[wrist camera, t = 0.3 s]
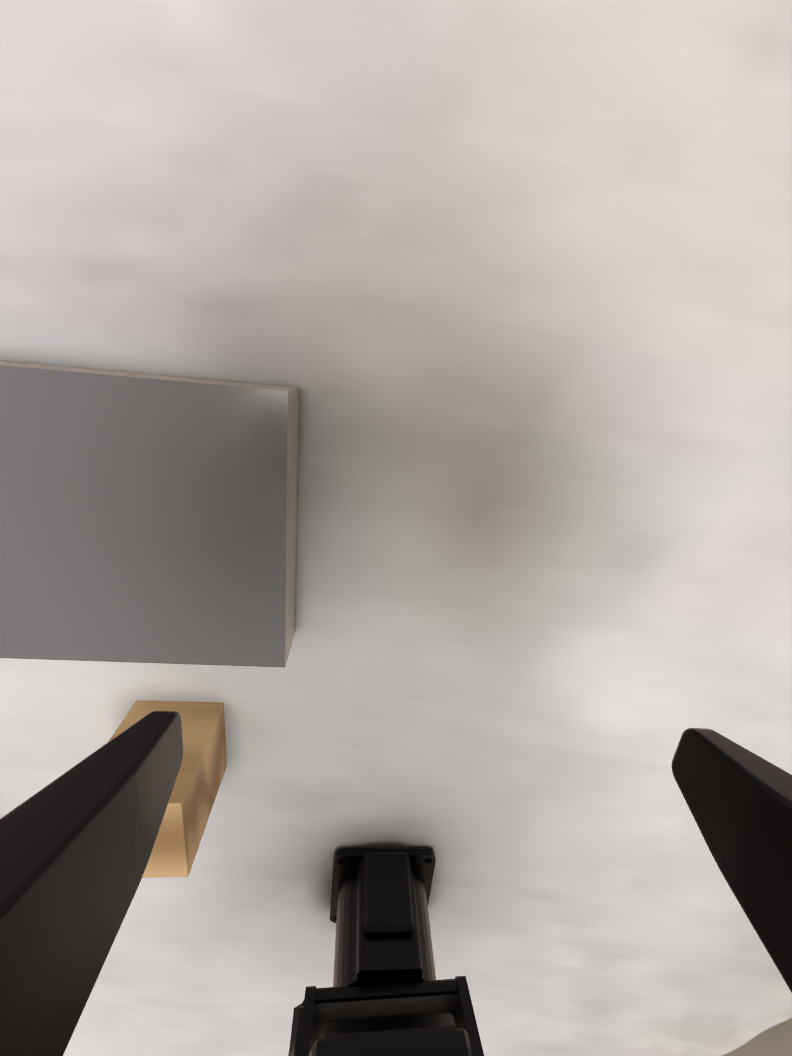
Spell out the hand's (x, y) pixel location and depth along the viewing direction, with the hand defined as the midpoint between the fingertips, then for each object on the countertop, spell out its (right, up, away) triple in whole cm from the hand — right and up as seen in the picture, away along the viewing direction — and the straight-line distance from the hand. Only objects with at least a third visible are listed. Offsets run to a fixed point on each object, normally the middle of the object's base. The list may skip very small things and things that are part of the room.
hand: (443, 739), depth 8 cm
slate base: (-11, +4, +13) cm, 18 cm away
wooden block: (-13, -8, +17) cm, 22 cm away
